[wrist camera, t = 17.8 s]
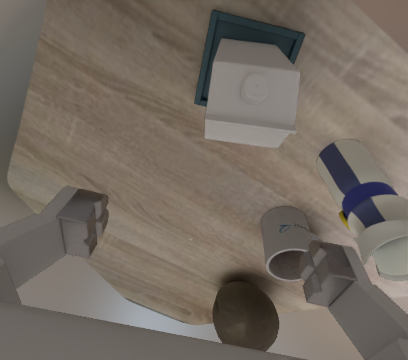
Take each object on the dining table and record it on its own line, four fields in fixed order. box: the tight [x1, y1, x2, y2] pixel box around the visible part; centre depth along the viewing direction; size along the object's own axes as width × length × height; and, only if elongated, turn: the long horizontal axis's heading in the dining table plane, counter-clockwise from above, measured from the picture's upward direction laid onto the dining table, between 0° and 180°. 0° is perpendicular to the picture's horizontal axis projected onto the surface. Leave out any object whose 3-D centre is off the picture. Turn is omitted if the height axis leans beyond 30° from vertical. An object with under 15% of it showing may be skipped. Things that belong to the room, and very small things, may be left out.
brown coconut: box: [213, 281, 279, 351], centre depth 58 cm, size 14×14×15 cm
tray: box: [194, 10, 305, 107], centre depth 35 cm, size 12×12×2 cm
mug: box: [261, 206, 324, 281], centre depth 47 cm, size 12×9×10 cm
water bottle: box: [317, 139, 408, 281], centre depth 32 cm, size 8×9×25 cm
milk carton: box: [204, 38, 300, 148], centre depth 27 cm, size 7×7×19 cm
